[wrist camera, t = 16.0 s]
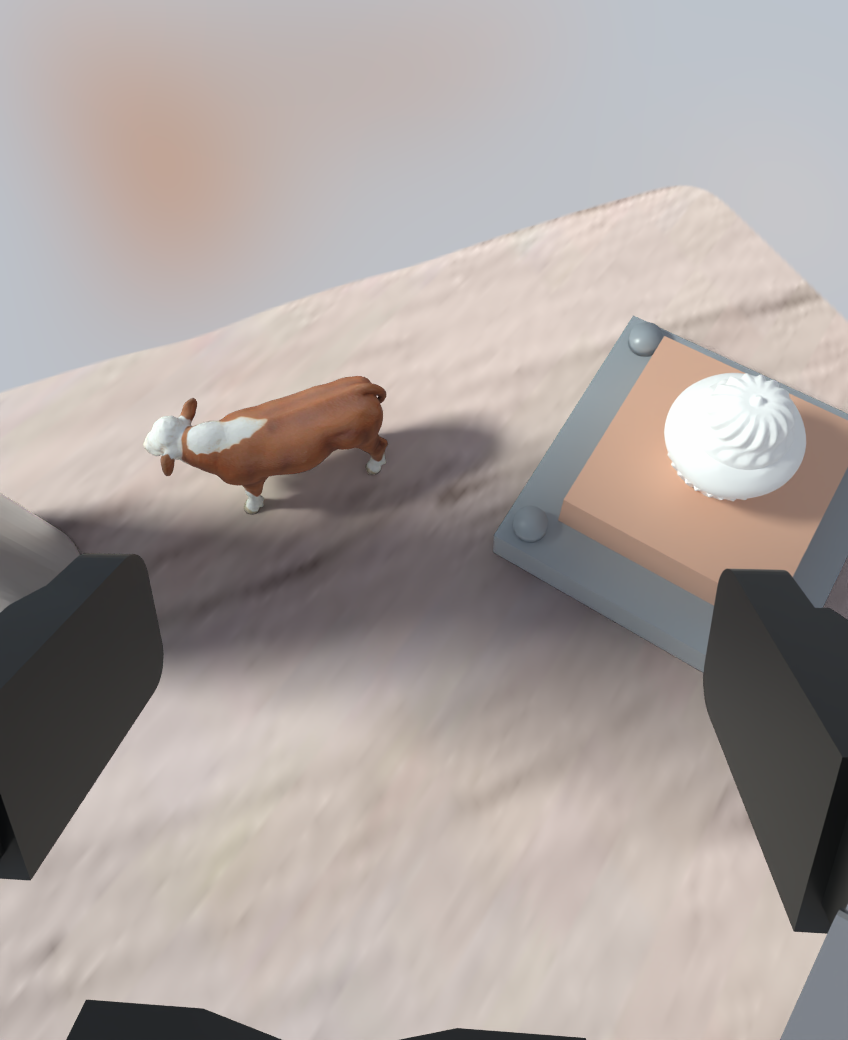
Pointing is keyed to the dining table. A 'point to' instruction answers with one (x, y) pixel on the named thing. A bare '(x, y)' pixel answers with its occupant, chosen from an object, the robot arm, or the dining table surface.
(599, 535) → the grey pegged tray
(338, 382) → the bull figurine
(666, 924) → the dining table surface
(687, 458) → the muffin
